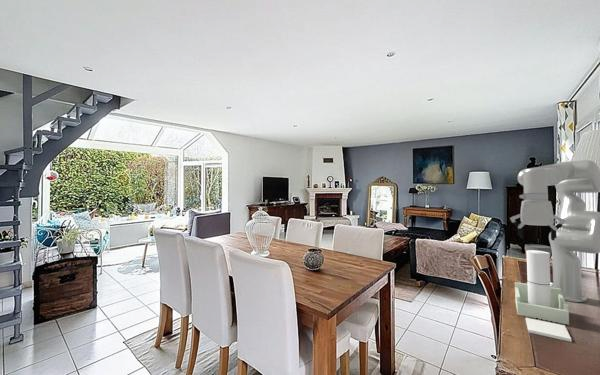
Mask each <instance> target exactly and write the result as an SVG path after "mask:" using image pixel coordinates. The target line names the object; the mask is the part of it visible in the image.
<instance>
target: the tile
mask: <svg viewBox="0 0 600 375" xmlns="http://www.w3.org/2000/svg"><path fill="white" fill-rule="evenodd" d="M525 323H526V327H527V328H526V329H527V332H528V333H529V334H534V335H538V336H542V337H546V338H552V339H556V340H561V341H566V342H570V343H572V342H573V341H572V337H571V336H570V333H569V331H568V329H567V328H566V324H561V323H556V322H551V321H546V320H541V319H536V318H531V317H525Z"/></svg>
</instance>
